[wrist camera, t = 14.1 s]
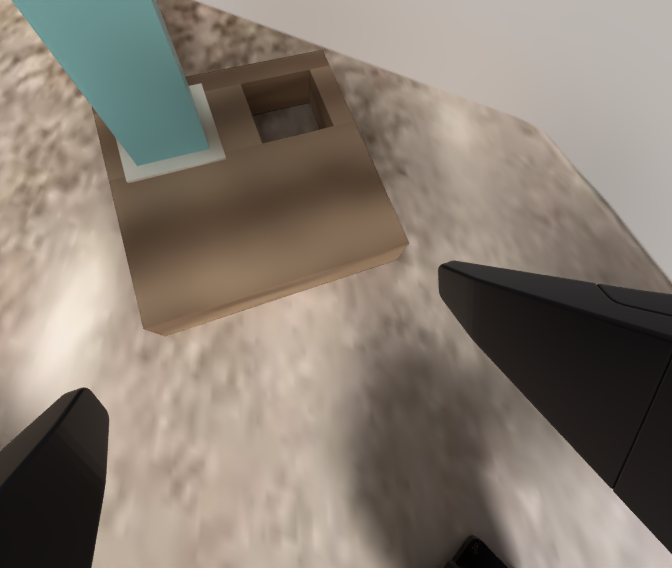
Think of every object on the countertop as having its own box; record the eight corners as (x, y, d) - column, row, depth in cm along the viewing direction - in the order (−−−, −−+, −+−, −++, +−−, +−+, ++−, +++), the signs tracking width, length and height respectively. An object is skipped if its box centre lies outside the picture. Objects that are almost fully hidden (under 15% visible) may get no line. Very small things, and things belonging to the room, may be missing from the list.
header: (396, 259, 24) (410, 241, 21) (164, 336, 21) (141, 328, 18) (320, 84, 28) (322, 47, 25) (113, 128, 25) (87, 93, 22)
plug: (209, 148, 22) (98, -135, 10) (137, 166, 21) (-80, -121, 9) (192, 94, 23) (71, -223, 11) (122, 108, 22) (-91, -216, 10)
